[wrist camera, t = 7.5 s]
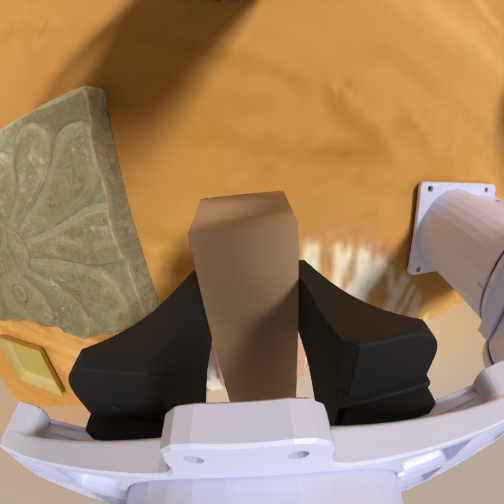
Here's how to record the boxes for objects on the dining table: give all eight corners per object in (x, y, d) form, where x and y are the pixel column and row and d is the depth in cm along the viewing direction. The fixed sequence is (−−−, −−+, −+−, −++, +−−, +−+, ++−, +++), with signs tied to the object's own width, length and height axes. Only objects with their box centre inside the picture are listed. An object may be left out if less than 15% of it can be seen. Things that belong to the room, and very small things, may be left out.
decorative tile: (-40, 167, 16) (-62, 177, 13) (107, 84, 15) (82, 80, 12) (19, 320, 24) (4, 339, 21) (167, 311, 24) (158, 339, 20)
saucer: (24, 370, 28) (18, 380, 27) (1, 325, 25) (-7, 335, 23) (69, 386, 29) (64, 397, 27) (47, 339, 25) (39, 351, 23)
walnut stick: (282, 190, 12) (297, 223, 9) (288, 370, 18) (294, 414, 15) (201, 198, 12) (187, 233, 9) (235, 375, 18) (235, 419, 15)
